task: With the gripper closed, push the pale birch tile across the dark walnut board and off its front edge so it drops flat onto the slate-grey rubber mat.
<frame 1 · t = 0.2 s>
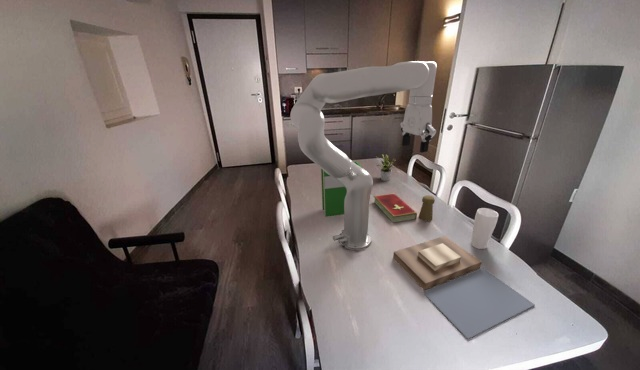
hand: (414, 148, 94), 36 cm above the table, tool pointing down, fingers open, 9 cm apart
cork: (425, 218, 115), on the table
hardcover book: (393, 211, 123), on the table
house plant: (383, 178, 158), on the table
walnut board: (434, 263, 88), on the table
rubber mat: (476, 298, 74), on the table
hardback book: (341, 211, 124), on the table
drinking glass: (478, 245, 96), on the table
birch tile: (438, 258, 86), point 3 cm above the table, touching walnut board
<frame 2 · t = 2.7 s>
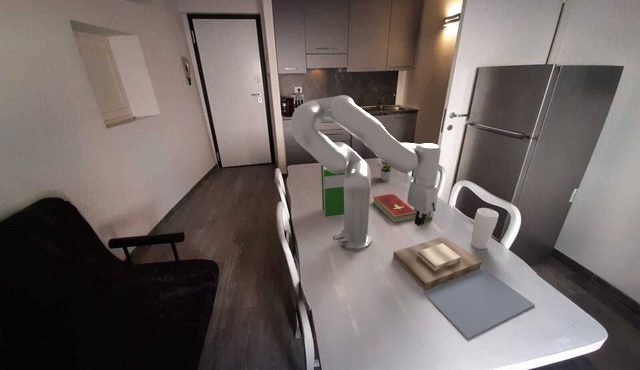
hand: (419, 224, 93), 10 cm above the table, tool pointing down, fingers closed
nothing on the table moved.
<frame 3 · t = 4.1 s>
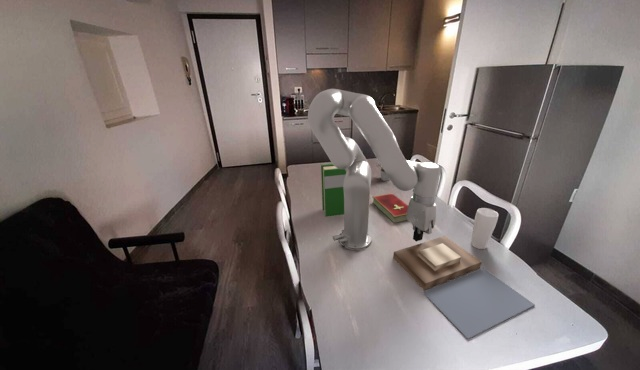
hand: (417, 239, 95), 4 cm above the table, tool pointing down, fingers closed
nothing on the table moved.
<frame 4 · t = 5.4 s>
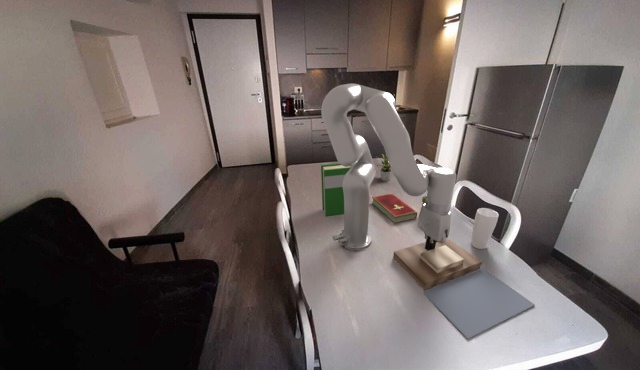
hand: (429, 249, 90), 4 cm above the table, tool pointing down, fingers closed
birch tile: (441, 260, 85), point 3 cm above the table, touching gripper
everything else where it was.
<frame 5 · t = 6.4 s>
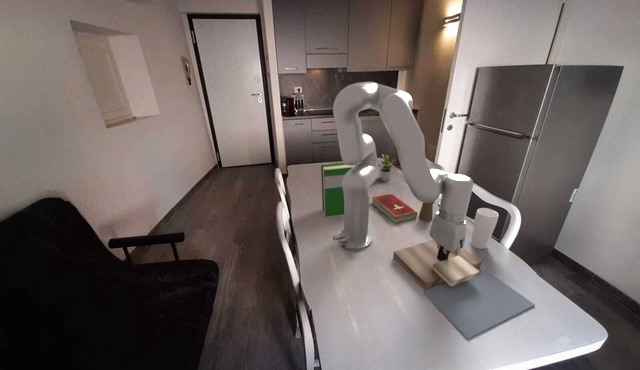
hand: (442, 259, 85), 4 cm above the table, tool pointing down, fingers closed
birch tile: (454, 272, 80), point 3 cm above the table, touching gripper, walnut board
everything else where it was.
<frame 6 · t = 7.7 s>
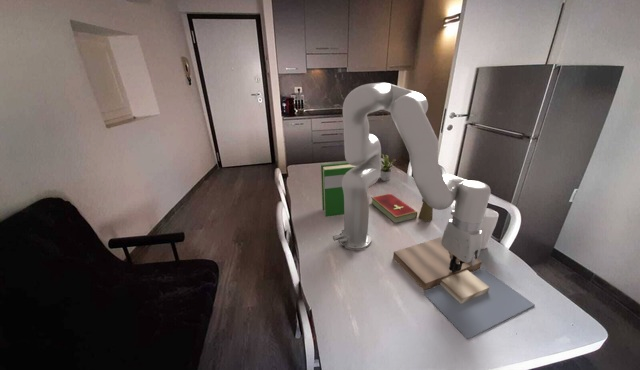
hand: (454, 269, 80), 4 cm above the table, tool pointing down, fingers closed
birch tile: (463, 287, 77), resting on rubber mat
everything else where it was.
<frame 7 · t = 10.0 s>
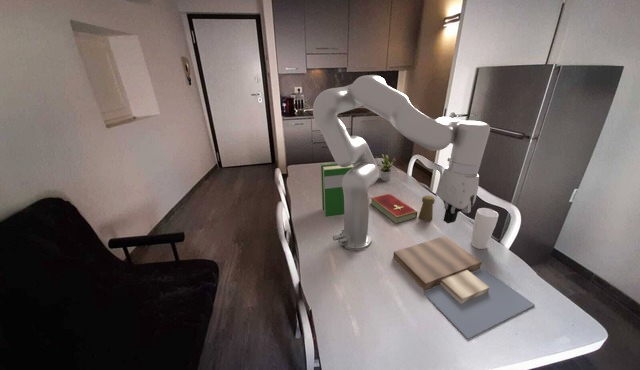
hand: (449, 221, 77), 20 cm above the table, tool pointing down, fingers closed
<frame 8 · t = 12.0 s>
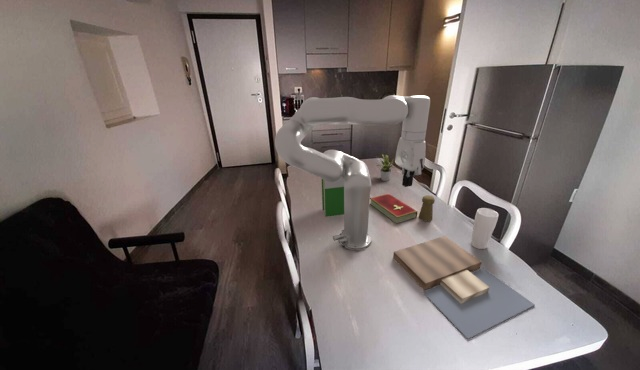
hand: (407, 185, 89), 25 cm above the table, tool pointing down, fingers closed
at the end: birch tile inside the target area (4.1 cm from its centre), resting on rubber mat; birch tile tilted 0° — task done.
